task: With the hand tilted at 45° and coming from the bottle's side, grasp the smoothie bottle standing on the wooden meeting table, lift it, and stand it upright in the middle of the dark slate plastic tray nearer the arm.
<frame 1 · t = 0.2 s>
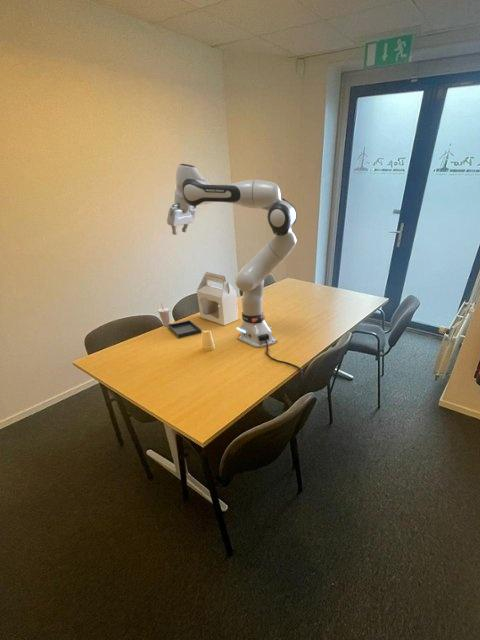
hand: (179, 233, 151), 52 cm above the table, tool tilted 20°, fingers open, 8 cm apart
smoothie: (166, 325, 183), on the table
gable box: (219, 318, 194), on the table
tray: (184, 330, 177), on the table
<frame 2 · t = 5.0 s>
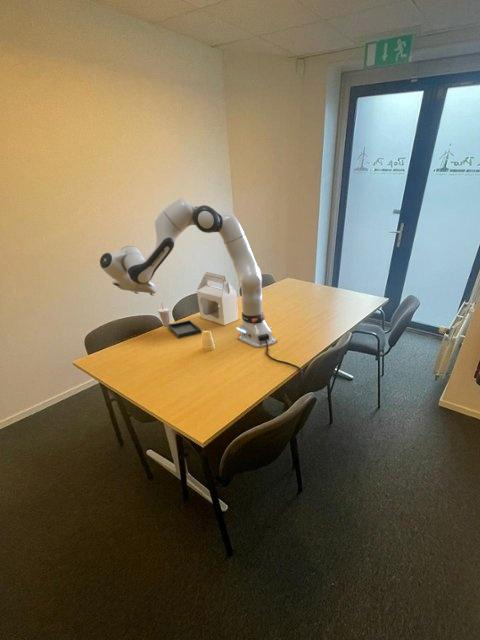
hand: (145, 293, 160), 23 cm above the table, tool tilted 45°, fingers open, 8 cm apart
nothing on the table moved.
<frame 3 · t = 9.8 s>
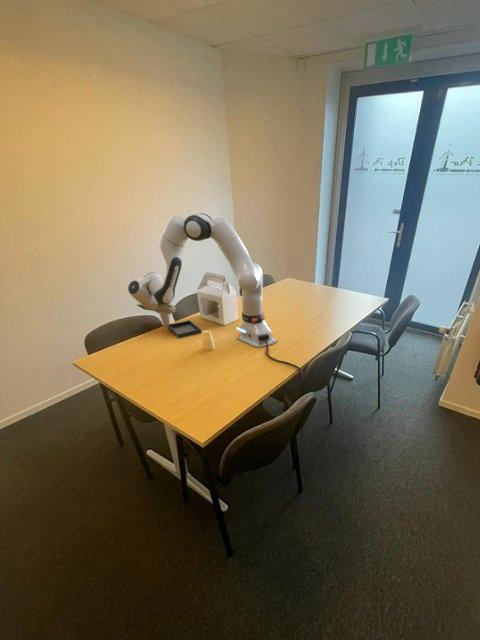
hand: (164, 312, 179), 8 cm above the table, tool tilted 45°, fingers closed on smoothie, 6 cm apart
smoothie: (166, 325, 183), on the table, touching gripper
everything else where it was.
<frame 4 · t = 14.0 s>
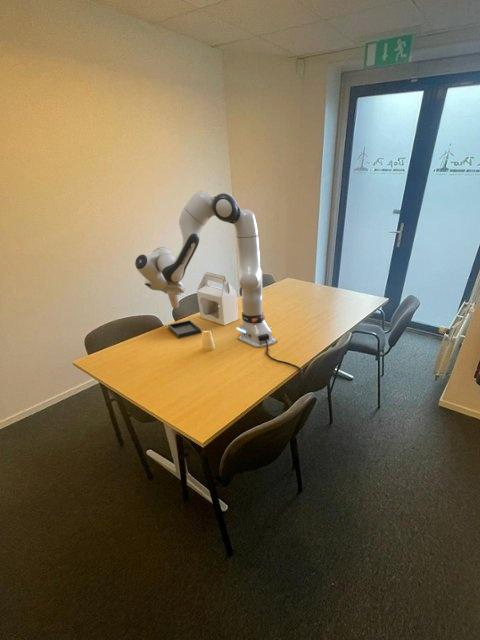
hand: (173, 293, 167), 21 cm above the table, tool tilted 45°, fingers closed on smoothie, 6 cm apart
smoothie: (175, 307, 171), point 13 cm above the table, touching gripper
everything else where it was.
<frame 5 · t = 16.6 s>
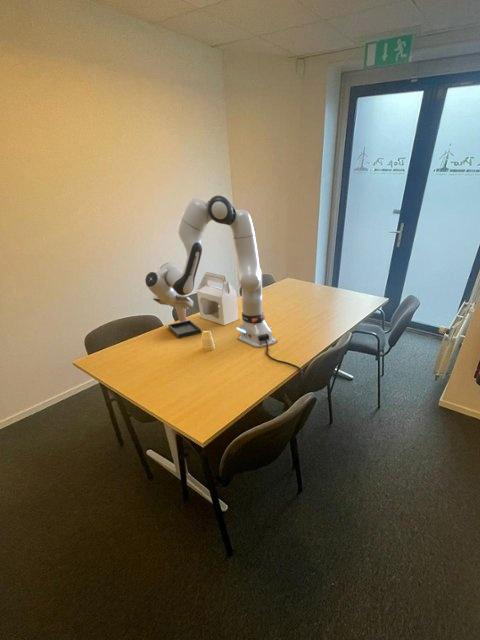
hand: (181, 307, 169), 14 cm above the table, tool tilted 45°, fingers closed on smoothie, 6 cm apart
smoothie: (183, 320, 173), point 6 cm above the table, touching gripper
everything else where it was.
when the fingers open (9 cm above the table, at t = 18.7 s): smoothie stays where it is, resting on tray.
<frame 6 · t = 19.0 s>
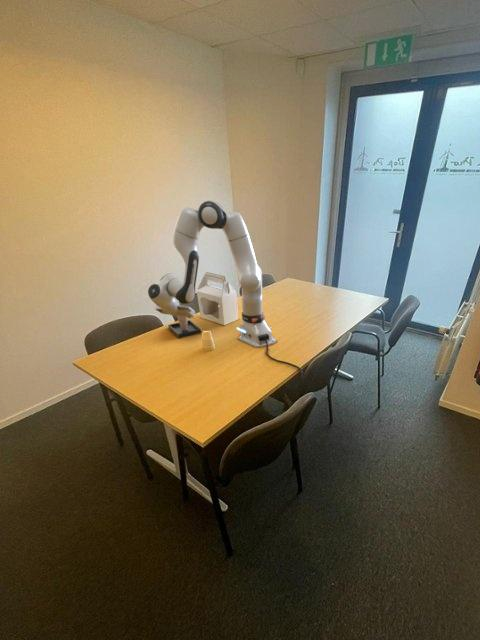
hand: (183, 316, 173), 9 cm above the table, tool tilted 45°, fingers open, 8 cm apart
smoothie: (184, 329, 177), point 1 cm above the table, touching tray
everything else where it was.
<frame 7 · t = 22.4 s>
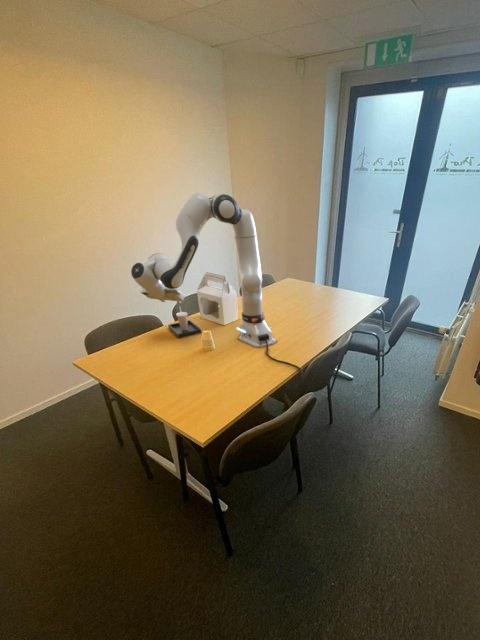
hand: (171, 301, 160), 20 cm above the table, tool tilted 45°, fingers open, 8 cm apart
nothing on the table moved.
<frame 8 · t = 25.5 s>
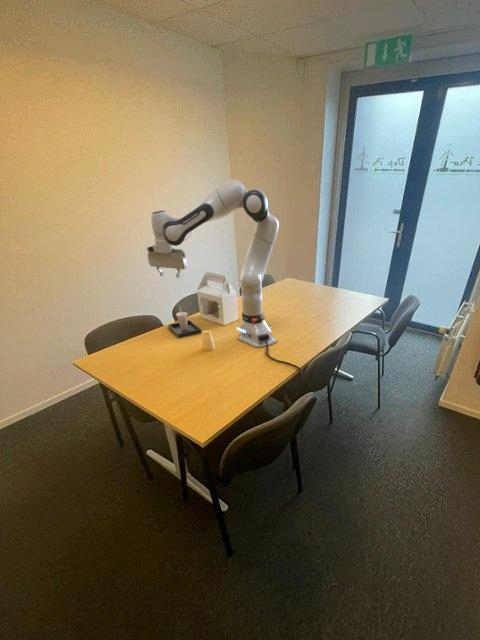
hand: (170, 276, 156), 32 cm above the table, tool pointing down, fingers open, 8 cm apart
nothing on the table moved.
at the end: smoothie inside the target area in the tray (0.0 cm from its centre), point 0.6 cm above the tray's base; smoothie tilted 0°; the gripper is holding nothing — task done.
